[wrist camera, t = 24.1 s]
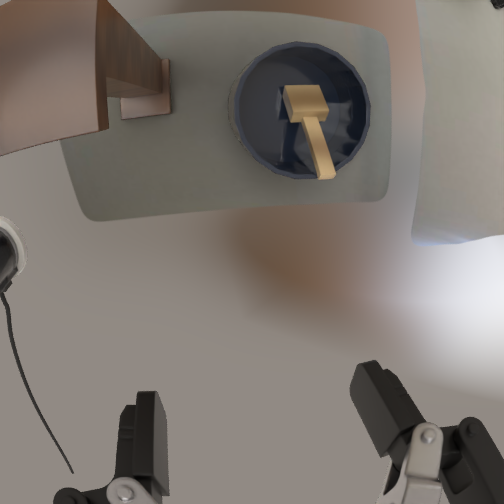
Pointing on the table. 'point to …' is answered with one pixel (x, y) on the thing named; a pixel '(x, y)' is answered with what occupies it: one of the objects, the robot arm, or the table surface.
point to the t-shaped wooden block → (311, 123)
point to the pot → (276, 117)
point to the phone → (498, 3)
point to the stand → (72, 71)
